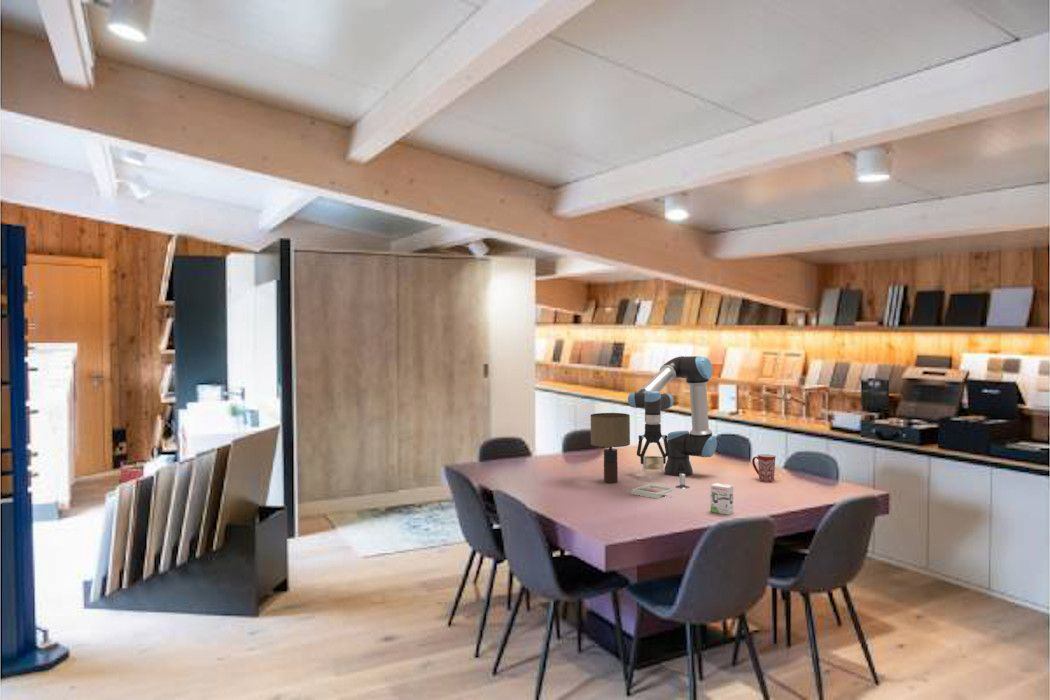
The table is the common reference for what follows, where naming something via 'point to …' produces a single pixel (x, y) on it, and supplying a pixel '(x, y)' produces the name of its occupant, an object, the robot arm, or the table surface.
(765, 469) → the mug
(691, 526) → the table surface
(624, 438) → the lamp
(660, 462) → the tan wooden frame
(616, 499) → the table surface
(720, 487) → the ink box
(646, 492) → the tray
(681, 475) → the grey glass rounded piece
